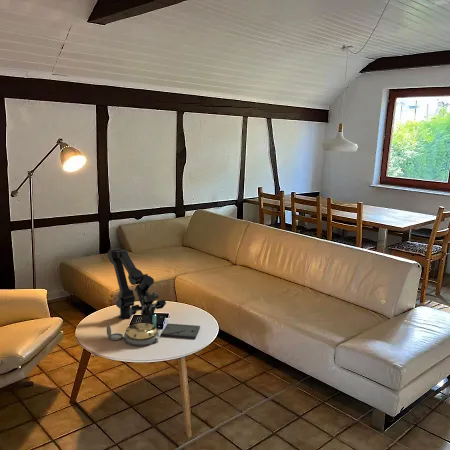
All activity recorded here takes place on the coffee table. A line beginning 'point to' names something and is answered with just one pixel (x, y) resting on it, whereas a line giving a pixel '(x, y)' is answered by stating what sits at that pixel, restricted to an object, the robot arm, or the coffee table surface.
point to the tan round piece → (142, 330)
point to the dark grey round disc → (141, 343)
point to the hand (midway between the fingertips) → (153, 322)
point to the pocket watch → (113, 336)
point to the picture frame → (180, 331)
